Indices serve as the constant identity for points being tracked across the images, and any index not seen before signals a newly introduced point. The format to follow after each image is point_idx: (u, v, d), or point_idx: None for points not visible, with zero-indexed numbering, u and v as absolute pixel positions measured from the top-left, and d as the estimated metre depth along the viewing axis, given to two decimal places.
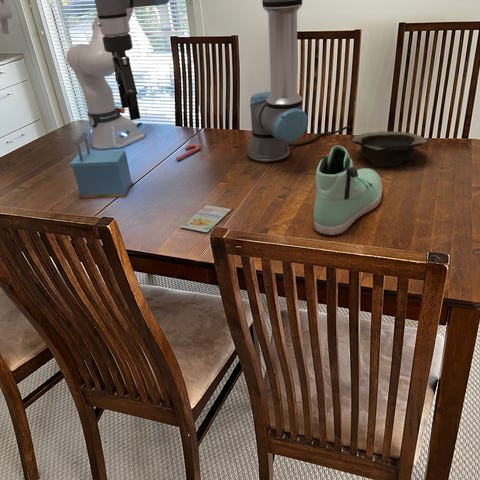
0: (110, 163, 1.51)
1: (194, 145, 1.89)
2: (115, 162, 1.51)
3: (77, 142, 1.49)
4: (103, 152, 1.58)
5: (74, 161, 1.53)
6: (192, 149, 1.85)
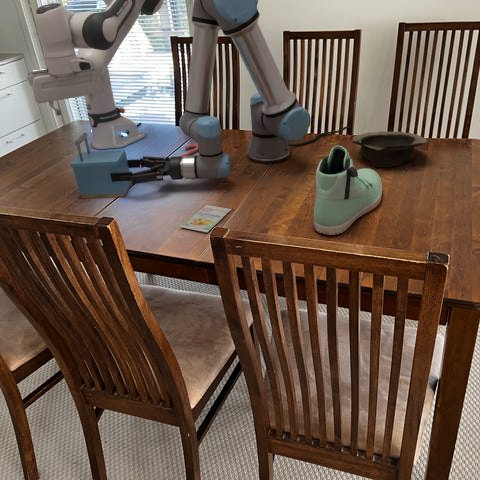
0: (110, 163, 1.51)
1: (194, 145, 1.89)
2: (115, 162, 1.51)
3: (77, 142, 1.49)
4: (103, 152, 1.58)
5: (74, 161, 1.53)
6: (192, 149, 1.85)
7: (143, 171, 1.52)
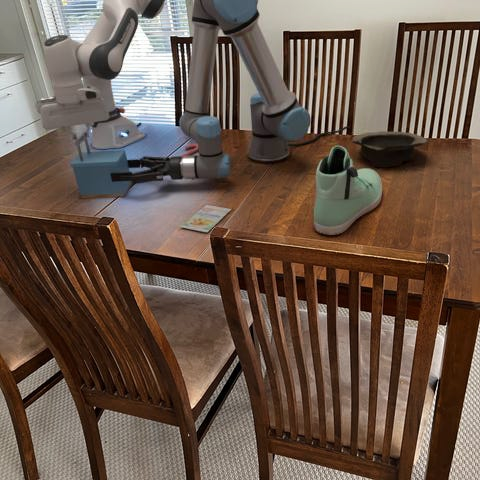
0: (110, 163, 1.51)
1: (194, 145, 1.89)
2: (115, 162, 1.51)
3: (77, 142, 1.49)
4: (103, 152, 1.58)
5: (74, 161, 1.53)
6: (192, 149, 1.85)
7: (143, 171, 1.52)
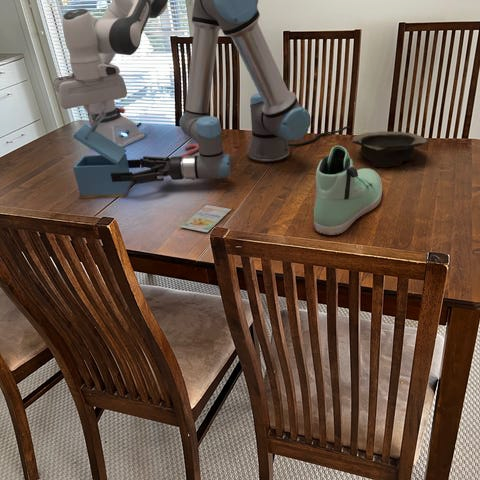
0: (111, 159, 1.50)
1: (194, 145, 1.89)
2: (116, 161, 1.50)
3: (95, 123, 1.45)
4: (106, 140, 1.56)
5: (78, 134, 1.48)
6: (192, 149, 1.85)
7: (143, 171, 1.52)
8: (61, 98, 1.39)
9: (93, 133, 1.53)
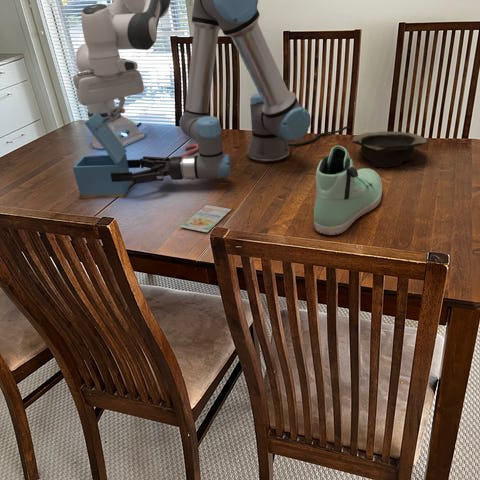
0: (113, 157, 1.50)
1: (194, 145, 1.89)
2: (117, 161, 1.50)
3: (112, 120, 1.44)
4: (112, 134, 1.55)
5: (91, 122, 1.46)
6: (192, 149, 1.85)
7: (143, 171, 1.52)
8: (81, 94, 1.37)
9: None
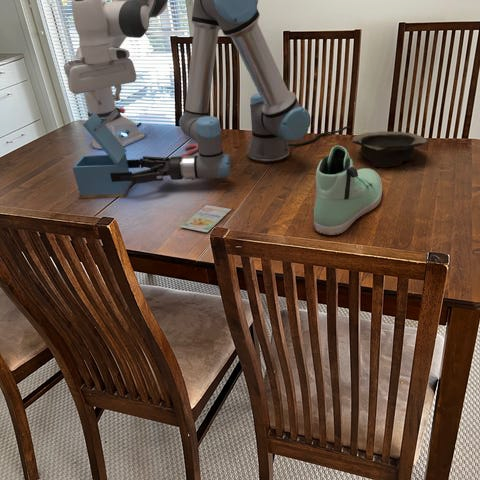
0: (112, 157, 1.50)
1: (194, 145, 1.89)
2: (116, 161, 1.50)
3: (110, 120, 1.44)
4: (111, 135, 1.55)
5: (88, 123, 1.46)
6: (192, 149, 1.85)
7: (143, 171, 1.52)
8: (72, 83, 1.36)
9: None
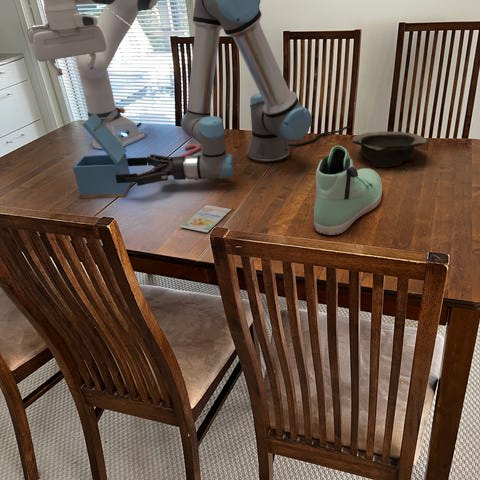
0: (112, 157, 1.50)
1: (194, 145, 1.89)
2: (116, 161, 1.50)
3: (109, 120, 1.45)
4: (111, 135, 1.55)
5: (88, 123, 1.46)
6: (192, 149, 1.85)
7: (147, 172, 1.51)
8: (36, 49, 1.32)
9: None
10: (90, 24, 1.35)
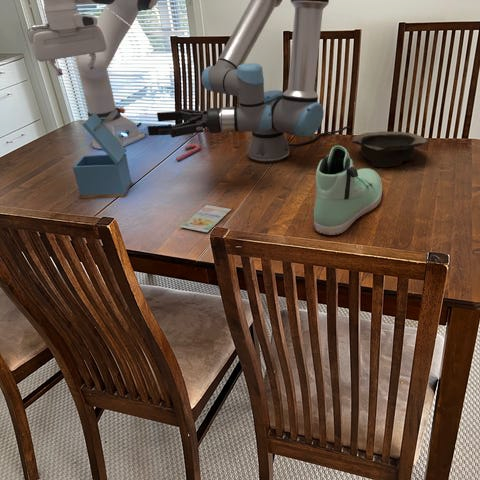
0: (112, 157, 1.50)
1: (194, 145, 1.89)
2: (116, 161, 1.50)
3: (109, 120, 1.45)
4: (111, 135, 1.55)
5: (88, 123, 1.46)
6: (192, 149, 1.85)
7: (182, 123, 1.42)
8: (36, 49, 1.32)
9: None
10: (90, 24, 1.35)
